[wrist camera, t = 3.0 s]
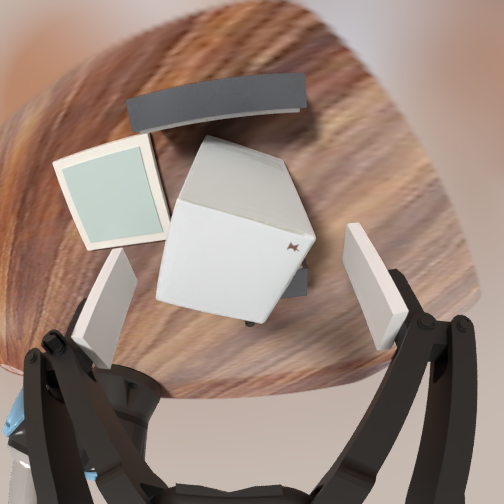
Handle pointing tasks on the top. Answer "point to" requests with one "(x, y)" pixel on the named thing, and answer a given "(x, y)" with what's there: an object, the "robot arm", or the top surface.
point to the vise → (223, 115)
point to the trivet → (115, 193)
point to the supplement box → (234, 234)
